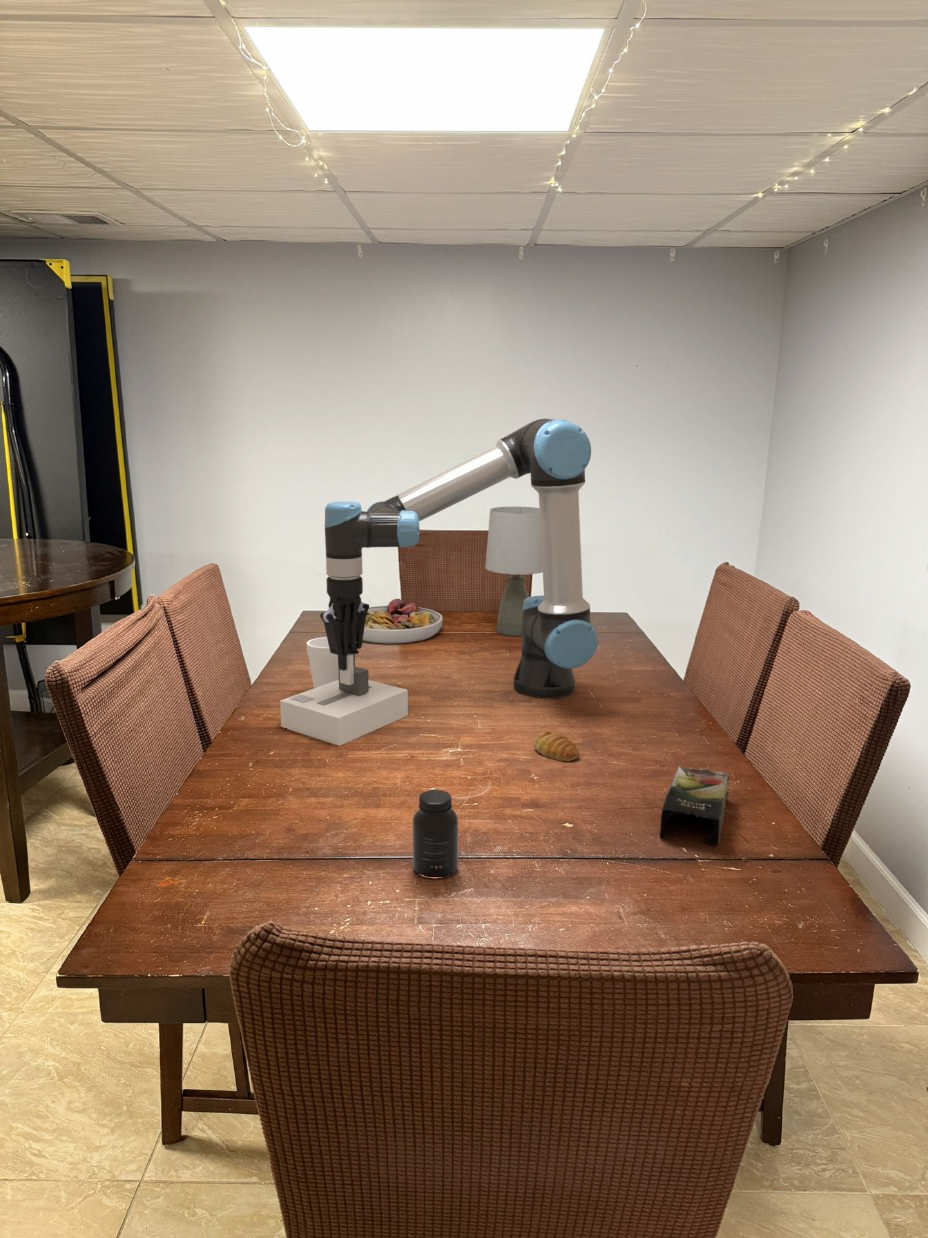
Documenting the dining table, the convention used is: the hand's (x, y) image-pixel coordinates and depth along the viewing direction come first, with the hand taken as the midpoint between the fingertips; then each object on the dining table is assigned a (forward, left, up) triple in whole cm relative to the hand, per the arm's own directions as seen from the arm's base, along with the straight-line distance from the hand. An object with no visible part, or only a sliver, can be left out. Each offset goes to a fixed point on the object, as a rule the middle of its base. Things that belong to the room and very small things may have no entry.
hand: (347, 682), depth 190 cm
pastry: (-45, -13, -9) cm, 48 cm away
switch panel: (0, +1, -9) cm, 9 cm away
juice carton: (-78, -2, -9) cm, 79 cm away
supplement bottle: (-53, +38, -9) cm, 65 cm away
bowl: (+40, -62, -9) cm, 74 cm away
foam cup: (+15, -9, -9) cm, 20 cm away
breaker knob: (0, -2, -2) cm, 3 cm away
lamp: (+11, -85, -9) cm, 87 cm away
